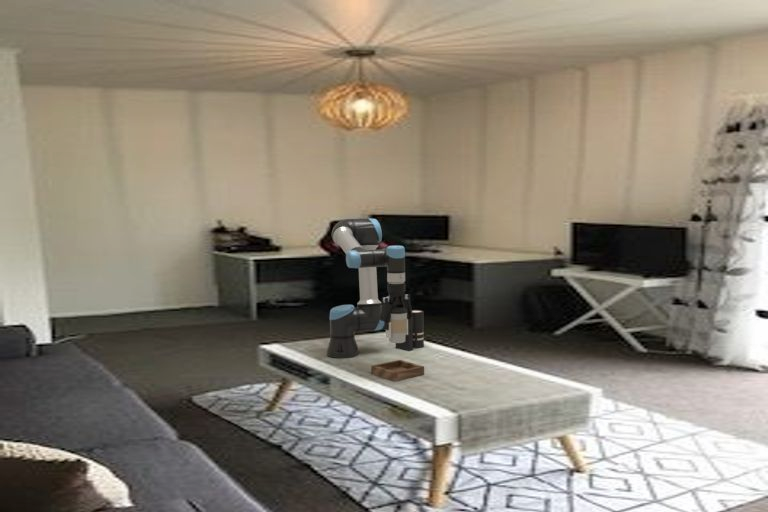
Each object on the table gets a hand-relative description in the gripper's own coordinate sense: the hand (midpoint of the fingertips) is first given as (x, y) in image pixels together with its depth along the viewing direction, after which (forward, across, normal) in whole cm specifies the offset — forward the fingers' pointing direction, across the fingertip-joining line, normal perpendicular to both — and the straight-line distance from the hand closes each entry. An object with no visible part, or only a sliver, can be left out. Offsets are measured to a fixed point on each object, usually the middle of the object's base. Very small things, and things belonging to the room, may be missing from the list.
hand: (397, 335), depth 293 cm
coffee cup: (+3, 0, 0) cm, 3 cm away
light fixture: (+17, +38, +35) cm, 54 cm away
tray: (+17, 0, 0) cm, 17 cm away
